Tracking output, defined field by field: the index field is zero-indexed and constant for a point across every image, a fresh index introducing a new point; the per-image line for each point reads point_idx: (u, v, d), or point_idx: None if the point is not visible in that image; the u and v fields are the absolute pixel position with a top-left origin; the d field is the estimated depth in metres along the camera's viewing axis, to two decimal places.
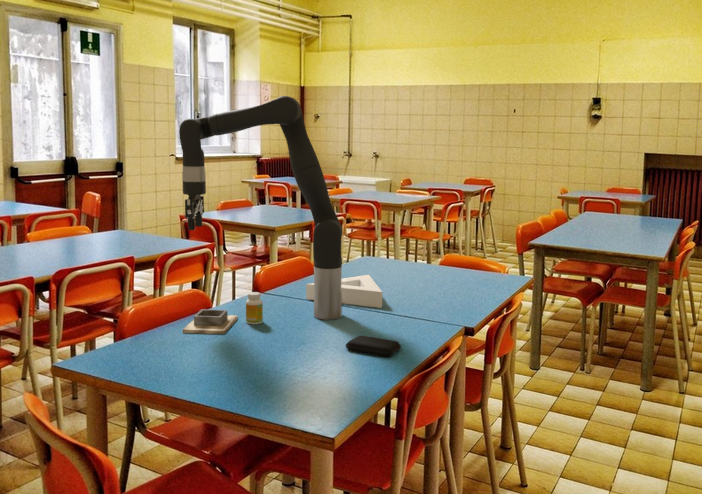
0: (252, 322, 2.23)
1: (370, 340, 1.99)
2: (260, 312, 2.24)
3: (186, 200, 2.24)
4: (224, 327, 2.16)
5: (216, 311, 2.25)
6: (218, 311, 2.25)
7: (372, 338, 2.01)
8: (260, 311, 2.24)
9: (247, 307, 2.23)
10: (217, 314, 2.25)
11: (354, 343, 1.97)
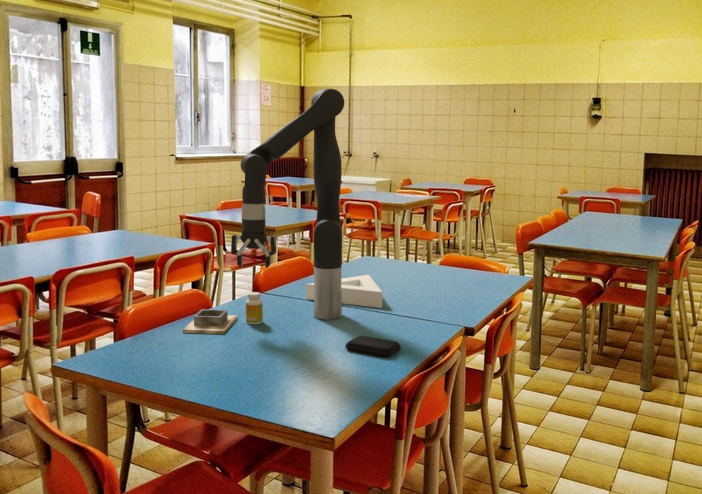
0: (252, 322, 2.23)
1: (370, 341, 1.99)
2: (260, 312, 2.24)
3: (274, 237, 2.20)
4: (224, 327, 2.16)
5: (216, 311, 2.25)
6: (218, 311, 2.25)
7: (372, 338, 2.01)
8: (260, 311, 2.24)
9: (247, 307, 2.23)
10: (217, 314, 2.25)
11: (354, 343, 1.97)
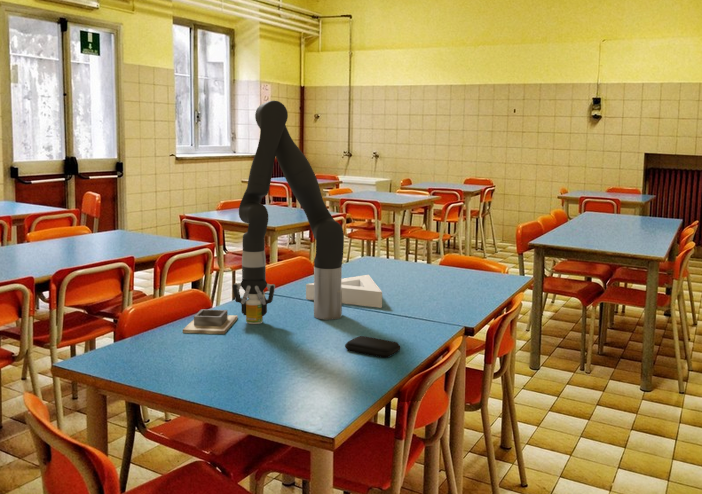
0: (252, 322, 2.23)
1: (370, 341, 1.99)
2: (260, 312, 2.24)
3: (274, 286, 2.23)
4: (224, 327, 2.16)
5: (216, 311, 2.25)
6: (218, 311, 2.25)
7: (372, 338, 2.01)
8: (260, 311, 2.24)
9: (247, 307, 2.23)
10: (217, 314, 2.25)
11: (353, 343, 1.97)
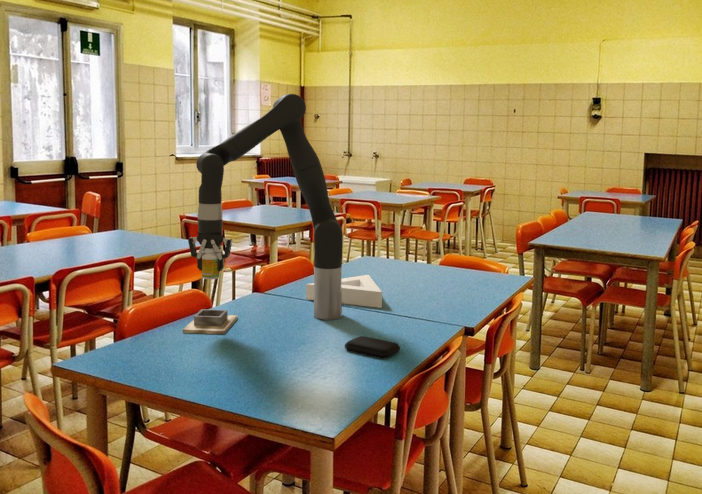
0: (208, 277, 2.17)
1: (369, 341, 1.98)
2: (216, 267, 2.18)
3: (230, 241, 2.16)
4: (224, 327, 2.16)
5: (216, 311, 2.25)
6: (218, 311, 2.25)
7: (372, 339, 2.01)
8: (216, 266, 2.17)
9: (203, 262, 2.17)
10: (217, 314, 2.25)
11: (353, 343, 1.97)
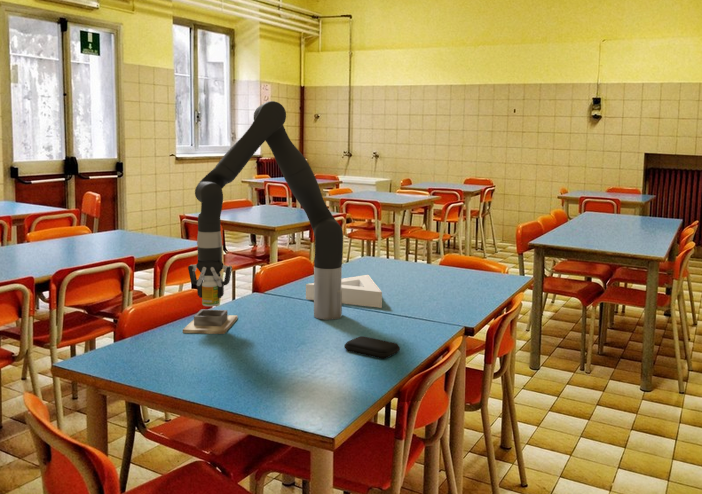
0: (208, 304, 2.18)
1: (369, 341, 1.98)
2: (216, 294, 2.19)
3: (230, 268, 2.18)
4: (224, 327, 2.16)
5: (216, 311, 2.25)
6: (218, 311, 2.25)
7: (372, 339, 2.00)
8: (216, 293, 2.19)
9: (203, 289, 2.18)
10: (217, 314, 2.25)
11: (352, 343, 1.97)
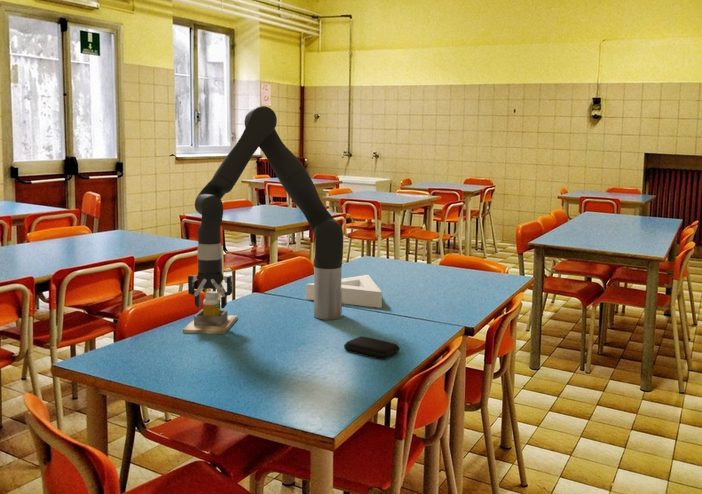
0: None
1: (369, 342, 1.98)
2: (217, 312, 2.20)
3: (230, 278, 2.18)
4: (224, 327, 2.16)
5: None
6: None
7: (372, 339, 2.00)
8: (217, 311, 2.20)
9: (204, 307, 2.19)
10: None
11: (352, 344, 1.97)
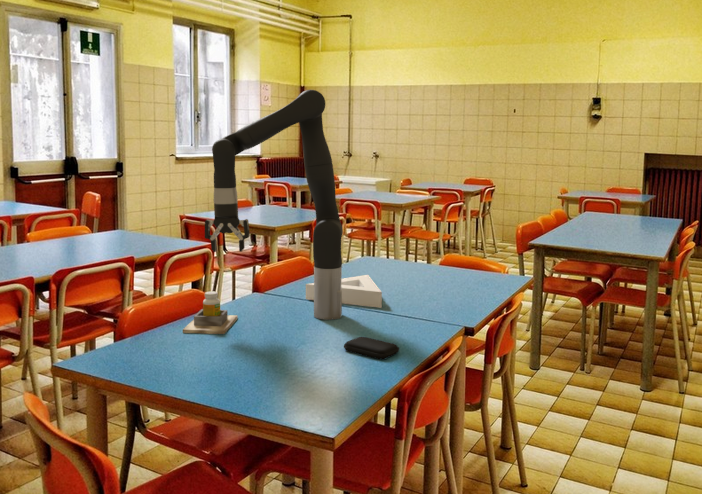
0: None
1: (368, 342, 1.98)
2: (217, 312, 2.20)
3: (246, 220, 2.22)
4: (224, 327, 2.16)
5: None
6: None
7: (372, 340, 2.00)
8: (217, 311, 2.20)
9: (204, 307, 2.19)
10: None
11: (351, 344, 1.97)
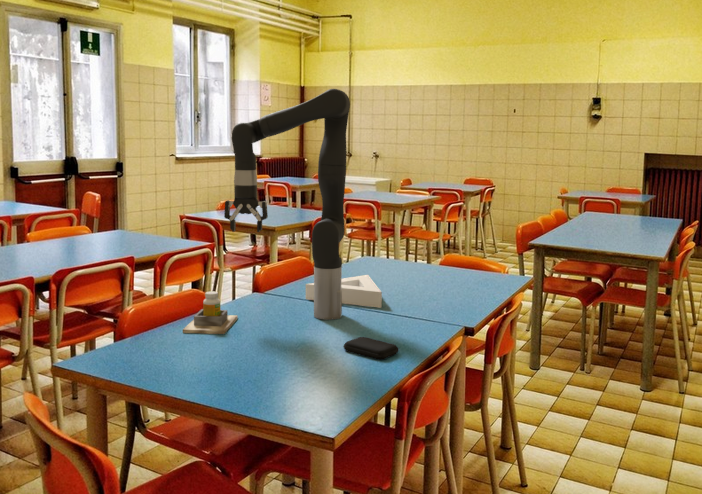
0: None
1: (368, 342, 1.98)
2: (218, 312, 2.20)
3: (265, 202, 2.31)
4: (224, 327, 2.16)
5: None
6: None
7: (371, 340, 2.00)
8: (218, 311, 2.20)
9: (204, 307, 2.19)
10: None
11: (351, 344, 1.97)
